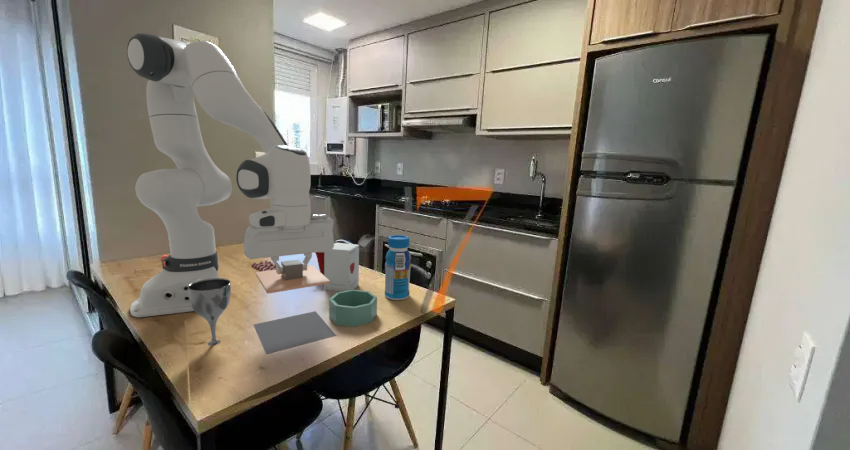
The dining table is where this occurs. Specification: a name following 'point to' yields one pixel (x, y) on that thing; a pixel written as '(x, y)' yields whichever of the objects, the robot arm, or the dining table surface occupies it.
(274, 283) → the cover
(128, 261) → the dining table surface
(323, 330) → the mat
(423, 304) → the dining table surface
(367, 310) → the bowl
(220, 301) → the wine glass
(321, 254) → the plastic cup
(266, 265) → the chocolate bar
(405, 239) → the beverage bottle
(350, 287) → the supplement box
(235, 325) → the dining table surface
